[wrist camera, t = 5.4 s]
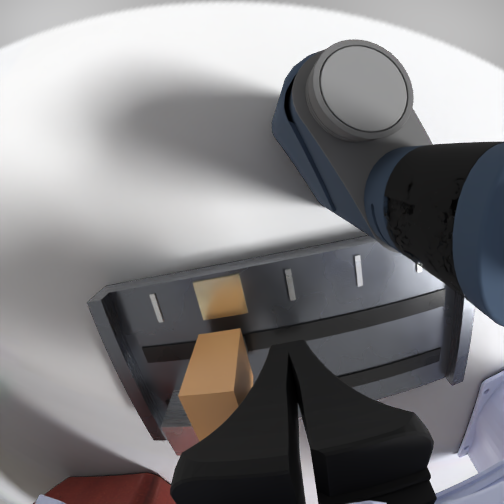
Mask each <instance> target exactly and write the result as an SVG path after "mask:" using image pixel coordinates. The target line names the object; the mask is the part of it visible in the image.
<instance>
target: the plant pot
mask: <svg viewBox="0 0 504 504" xmlns="http://www.w3.org/2000/svg"><path fill="white" fill-rule="evenodd" d="M170 487H171V485H170V484H168V483H167V482H166V481H165V480H163V479H162V478H160V477H159V476H157V475H154V474H150V473H140V474H130V475H116V476H98V477H69V478H67V479H66V480H64V481H63V482H61V483H60V484H58V485H57V486H55V487H54V488H52V489H51V490H50V491H49V492H47V493H46V494H45V496H48V497H50V498H53V499H56V500H59V501H62V502H64V503H65V504H176V503H175V501H174V500H173V498H172V497H171V495H170ZM33 504H35V502H34V503H33Z"/></svg>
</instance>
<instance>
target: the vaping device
mask: <svg viewBox="0 0 504 504" xmlns="http://www.w3.org/2000/svg"><path fill="white" fill-rule="evenodd" d="M412 107H413V89H412V85H411V81H410V79H409V76H408V74H407V72H406V70H405V69H404V67H403V66H402V64H401V63H400V62H399V61H398V59H397V58H396V57H394V56H393V55H392V54H391V53H390V52H389V51H387V50H386V49H384V48H383V47H381V46H379V45H377V44H374V43H371V42H368V41H364V40H345V41H341V42H338V43H335V44H333V45H332V46H330V47H329V48H327V49H325V50H322V51H320V52H317V53H314V54H311V55H309V56H307V57H306V58H304V59H303V60H302V61H300V62H299V63H298V64H296V65H295V66H294V67H293V68H292V70H291V71H290V73H289V74H288V75H287V77H286V78H285V81H284V84H283V87H282V91H281V94H280V97H279V100H278V104H277V107H276V110H275V114H274V117H273V121H272V133H273V135H274V137H275V138H276V140H277V141H278V142H279V144H280V145H281V146H282V148H283V149H284V151H285V152H286V153H287V155H288V156H289V158H290V159H291V161H292V162H293V164H294V165H295V167H296V168H297V170H298V171H299V173H300V174H301V175H302V177H303V179H304V180H305V182H306V183H307V185H308V186H309V188H310V189H311V191H312V192H313V194H314V195H315V197H316V198H317V200H318V201H319V203H320V204H321V205H323V206H324V207H326V208H327V209H329V210H330V211H332V212H334V213H335V214H337V215H338V216H340V217H341V218H343V219H345V220H346V221H348V222H349V223H351V224H352V225H354V226H355V227H357V228H358V229H360V230H362V231H363V232H365V233H366V234H368V235H369V236H371V237H372V238H374V239H375V240H376V241H378V242H379V243H380V244H381V245H382V246H383V247H385V248H386V249H388V250H390V251H393V252H396V253H401V254H403V255H404V256H406V257H407V258H409V259H410V260H412V261H413V262H414V263H416V264H417V265H419V266H420V267H422V268H423V269H424V270H426V271H427V272H429V273H430V274H432V275H433V276H434V277H436V278H437V279H439V280H440V281H441V282H443V283H444V284H446V285H447V286H448V287H450V288H451V289H452V290H454V291H455V292H456V293H458V294H459V295H461V296H462V297H463V298H464V297H465V298H466V300H467V301H469V302H471V304H472V305H474V306H475V307H476V308H478V309H479V310H480V311H482V312H483V313H484V314H485V315H487V316H488V317H489V318H490V319H492V320H493V321H494V322H495V323H497V324H499V325H501V326H504V142H473V143H452V144H435V145H433V144H432V142H431V140H430V138H429V137H428V135H427V133H426V131H425V129H424V127H423V126H422V124H421V122H420V120H419V119H418V117H417V115H416V113H415V112H414V110H413V108H412ZM421 265H422V266H421ZM436 272H437V273H436ZM440 278H441V279H440ZM451 282H452V283H451ZM458 287H459V288H458ZM457 290H458V291H457ZM461 291H462V293H461ZM463 294H464V295H465V296H464V295H463Z"/></svg>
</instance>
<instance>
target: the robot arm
mask: <svg viewBox="0 0 504 504" xmlns="http://www.w3.org/2000/svg"><path fill="white" fill-rule="evenodd" d="M298 405H299V408H300V412H301V416H302V419H303V423H304V427H305V430H306V434H307V438H308V441H309V445H310V450H311V456H312V463H313V469H314V476H315V483H316V489H317V496H318V503H319V504H504V371H502V372H500V373H498V374H496V375H494V376H492V377H490V378H488V379H486V380H485V381H484V382H483V383H482V384H481V387H480V391H479V394H478V398H477V401H476V404H475V407H474V411H473V414H472V417H471V420H470V423H469V425H468V428H467V431H466V434H465V436H464V439H463V442H462V444H461V447H460V449H459V452H458V456H459V457H463V456H465V455H467V454H468V456H469V457H470V459H471V461H472V463H473V464H474V466H475V468H476V470H477V471H478V474H476V475H475V476H473V477H471V478H469V479H467V480H465V481H463V482H461V483H458V484H456V485H454V486H452V487H450V488H448V489H445V490H443V491H441V492H439V493H436V494H435V493H434V490H433V488H432V486H431V483H430V481H429V480H430V478H431V474H430V472H429V470H428V468H427V465H428V462H429V459H430V456H431V453H432V450H433V444H434V441H433V439H432V437H431V435H430V433H429V431H428V429H427V428H426V426H425V425H424V424H423V423H422V421H421V420H420V419H419V418H418V416H417V415H416V414H415V413H413V412H409V411H406V410H402V409H398V408H394V407H391V406H388V405H385V404H383V403H380V402H378V401H375V400H373V399H371V398H369V397H367V396H365V395H363V394H361V393H360V392H358V391H356V390H355V389H353V388H352V387H350V386H349V385H347V384H346V383H344V382H343V381H342V380H341V379H339V378H338V377H337V376H336V375H335V374H333V373H332V372H331V371H330V370H329V369H328V368H327V367H326V366H325V365H324V364H323V363H322V362H321V361H320V360H319V359H318V358H317V356H316V355H315V354H314V353H313V352H312V350H311V349H310V347H309V346H308V344H307V342H306V341H304V340H298V341H293V342H288V343H282V344H277V345H272V346H271V347H270V349H269V353H268V356H267V358H266V361H265V363H264V366H263V368H262V370H261V372H260V374H259V376H258V378H257V380H256V381H255V383H254V385H253V386H252V388H251V390H250V391H249V393H248V394H247V396H246V397H245V399H244V400H243V401H242V403H241V404H240V405H239V406H238V408H237V409H236V410H235V411H234V412H233V413H232V414H231V416H230V417H229V418H228V419H227V420H226V421H225V422H224V423H223V424H222V425H221V426H219V427H218V428H217V429H216V430H215V431H213V432H212V433H211V434H210V435H208V436H207V437H206V438H204V439H203V440H201V441H200V442H198V443H197V444H195V445H194V446H192V447H190V448H189V449H187V450H185V451H184V452H182V454H181V456H180V459H179V461H178V463H177V466H176V468H175V471H174V475H173V479H172V483H171V487H170V495H171V497H172V498H173V500H174V501H175V503H176V504H306V502H305V495H304V486H303V479H302V471H301V463H300V454H299V421H298ZM35 504H65V503H64V502H62V501H59V500H56V499H53V498H50V497H48V496H45V495H39V497H38V499H37V500H36V502H35Z"/></svg>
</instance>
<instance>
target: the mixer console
mask: <svg viewBox="0 0 504 504" xmlns="http://www.w3.org/2000/svg"><path fill="white" fill-rule="evenodd" d="M421 266H422V265H421ZM436 273H437V272H436ZM440 279H441V278H440ZM451 283H452V282H451ZM458 288H459V287H458ZM457 291H458V290H457ZM461 293H462V291H461ZM463 295H464V294H463ZM464 296H465V295H464ZM87 304H88V306H89V309H90V312H91V314H92V317H93V319H94V322H95V324H96V327H97V329H98V331H99V334H100V336H101V339H102V341H103V343H104V345H105V348H106V350H107V352H108V354H109V357H110V359H111V361H112V363H113V365H114V367H115V369H116V372H117V374H118V376H119V378H120V380H121V382H122V384H123V386H124V388H125V390H126V392H127V394H128V395H129V397H130V399H131V401H132V403H133V405H134V407H135V409H136V410H137V412H138V414H139V416H140V417H141V419H142V421H143V423H144V424H145V426H146V428H147V430H148V431H149V433H150V435H151V436H152V438H153V440H167V439H168V441H169V443H170V444H171V446H172V448H173V449H174V451H175V453H176V454H177V455H181V454H182V452H184V451H185V450H187V449H189V448H190V447H192V446H194V445H195V444H197V443H198V442H200V441H199V439H198V437H197V435H196V433H195V431H194V429H193V427H192V425H191V423H190V421H189V419H188V417H187V414H186V412H185V410H184V408H183V406H182V404H181V401H180V399H179V397H178V395H179V392H180V389H181V386H182V383H183V380H184V376H185V373H186V371H187V368H188V365H189V362H190V359H191V356H192V353H193V350H194V347H195V344H196V341H197V338H198V335H199V334H206V333H213V332H219V331H226V330H232V329H239V328H241V332H242V336H244V339H245V342H246V346H247V350H248V352H247V355H248V359H249V362H250V366H251V370H252V374H253V385H254V383H255V381H256V380H257V378H258V376H259V374H260V372H261V370H262V368H263V366H264V363H265V361H266V358H267V356H268V353H269V349H270V347H271V346H272V345H277V344H282V343H288V342H293V341H298V340H304V341H306V342H307V344H308V346H309V347H310V349H311V350H312V352H313V353H314V354H315V355H316V356H317V358H318V359H319V360H320V361H321V362H322V363H323V364H324V365H325V366H326V367H327V368H328V369H329V370H330V371H331V372H332V373H333V374H335V375H336V376H337V377H338V378H339V379H341V380H342V381H343V382H344V383H346V384H347V385H349V386H350V387H352V388H353V389H355V390H356V391H358V392H360V393H361V394H363V395H365V396H367V397H369V398H371V399H373V400H378V399H381V398H385V397H388V396H392V395H395V394H398V393H401V392H404V391H408V390H411V389H414V388H417V387H420V386H422V385H425V384H428V383H431V382H434V381H436V380H439V379H442V378H444V377H446V379H447V380H448V381H449V383H450V384H451V385H452V386H453V385H455V384H457V383H460V382H462V381H463V378H464V374H465V369H466V364H467V359H468V353H469V347H470V341H471V335H472V327H473V320H474V311H475V306H474V305H472V304H471V302H469V301H467V300H466V298H465V297H464V298H463V297H462V296H461V295H459V294H458V293H456V292H455V291H454V290H452V289H451V288H450V287H448V286H447V285H446V284H444V283H443V282H441V281H440V280H439V279H437V278H436V277H434V276H433V275H432V274H430V273H429V272H427V271H426V270H424V269H423V268H422V267H420V266H419V265H417V264H416V263H414V262H413V261H412V260H410V259H409V258H407V257H406V256H404V255H403V254H401V253H396V252H393V251H390V250H388V249H386V248H385V247H383V246H382V245H381V244H380V243H379V242H378V241H376V240H375V239H374V238H372V237H371V236H369V235H368V236H363V237H358V238H353V239H348V240H343V241H338V242H333V243H328V244H323V245H317V246H312V247H307V248H302V249H297V250H292V251H287V252H282V253H276V254H271V255H266V256H261V257H256V258H251V259H245V260H240V261H235V262H230V263H225V264H219V265H214V266H209V267H204V268H199V269H193V270H188V271H183V272H177V273H172V274H167V275H162V276H156V277H151V278H146V279H140V280H135V281H130V282H124V283H119V284H114V285H108V286H105V287H104V288H103V289H102V290H101V291H99V292H98V293H97V294H96V295H95V296H94V297H93V298H91V299H90V300H89V301H88V302H87ZM299 417H302V416H301V412H300V408H299V405H298V418H299Z"/></svg>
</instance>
